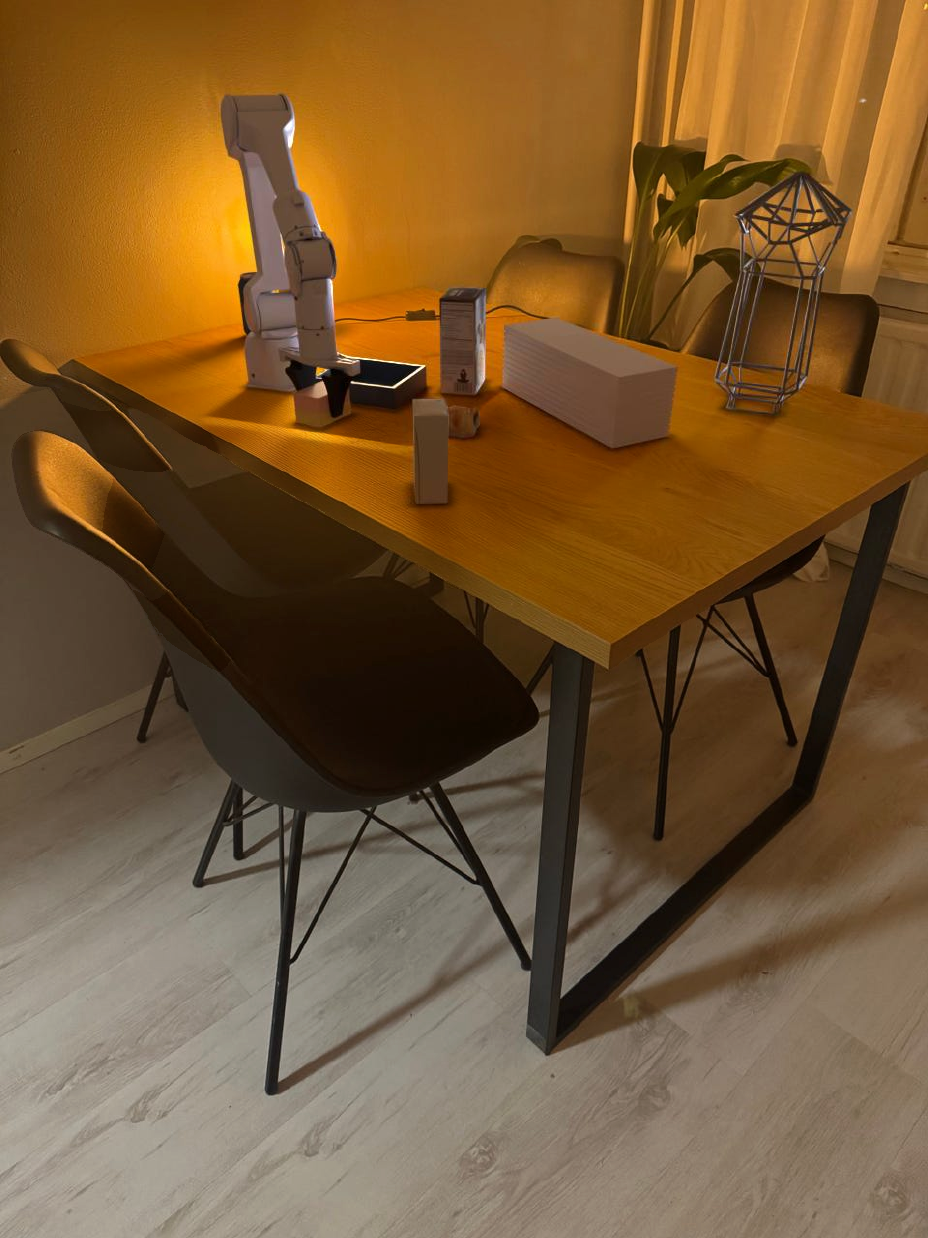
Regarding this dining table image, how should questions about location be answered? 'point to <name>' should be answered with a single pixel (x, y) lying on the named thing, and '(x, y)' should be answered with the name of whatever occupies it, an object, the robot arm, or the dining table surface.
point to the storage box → (384, 383)
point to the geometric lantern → (748, 216)
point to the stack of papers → (589, 381)
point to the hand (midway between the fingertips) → (323, 412)
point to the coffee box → (462, 340)
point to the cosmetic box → (430, 450)
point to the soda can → (242, 282)
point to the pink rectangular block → (316, 406)
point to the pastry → (463, 421)
